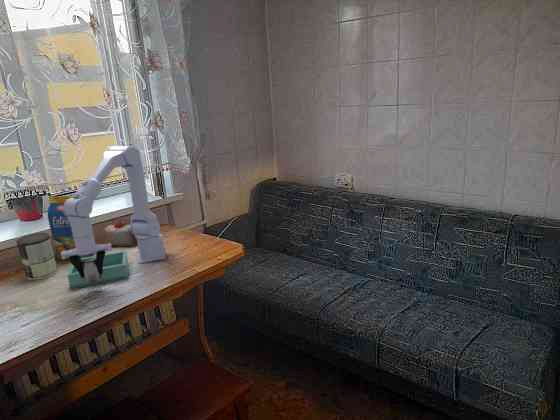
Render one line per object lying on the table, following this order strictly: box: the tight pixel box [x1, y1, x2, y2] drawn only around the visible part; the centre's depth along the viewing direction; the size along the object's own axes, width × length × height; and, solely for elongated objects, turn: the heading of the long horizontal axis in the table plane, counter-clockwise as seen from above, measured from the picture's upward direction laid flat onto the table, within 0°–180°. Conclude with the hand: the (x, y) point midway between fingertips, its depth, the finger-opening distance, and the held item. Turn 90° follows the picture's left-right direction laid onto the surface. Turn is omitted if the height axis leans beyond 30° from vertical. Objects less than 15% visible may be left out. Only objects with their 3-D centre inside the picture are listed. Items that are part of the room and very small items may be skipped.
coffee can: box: [16, 232, 58, 281], centre depth 150 cm, size 10×10×14 cm
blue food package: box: [47, 195, 95, 261], centre depth 162 cm, size 6×12×25 cm, turn 78°
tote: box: [67, 250, 129, 290], centre depth 147 cm, size 18×14×5 cm
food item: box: [103, 220, 138, 247], centre depth 175 cm, size 14×8×10 cm, turn 76°
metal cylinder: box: [81, 256, 102, 284], centre depth 134 cm, size 5×5×7 cm
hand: (92, 274), depth 135 cm, fingers closed on metal cylinder, 5 cm apart
